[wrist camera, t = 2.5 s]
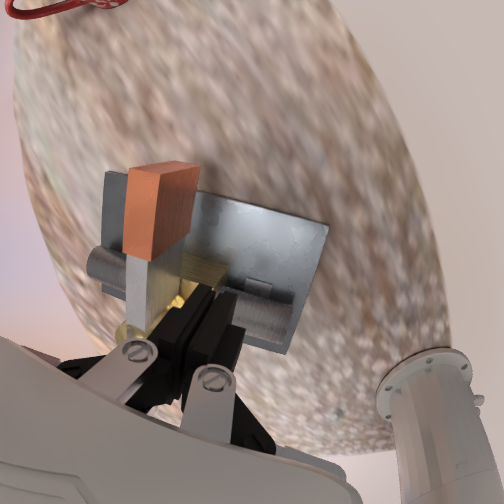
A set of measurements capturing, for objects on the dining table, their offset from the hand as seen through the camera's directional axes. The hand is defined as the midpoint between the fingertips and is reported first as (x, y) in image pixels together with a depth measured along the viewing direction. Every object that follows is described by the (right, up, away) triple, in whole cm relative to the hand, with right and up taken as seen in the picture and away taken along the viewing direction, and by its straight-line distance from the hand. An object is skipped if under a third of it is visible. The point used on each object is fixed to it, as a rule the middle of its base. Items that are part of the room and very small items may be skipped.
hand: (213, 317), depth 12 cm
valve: (-4, +2, +16) cm, 17 cm away
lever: (-4, +3, +10) cm, 11 cm away
